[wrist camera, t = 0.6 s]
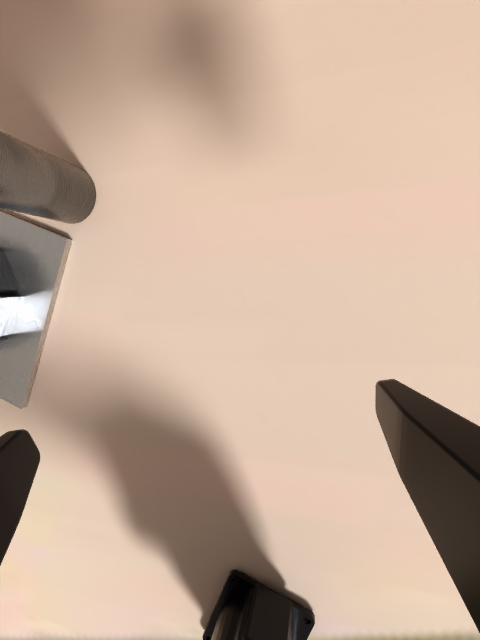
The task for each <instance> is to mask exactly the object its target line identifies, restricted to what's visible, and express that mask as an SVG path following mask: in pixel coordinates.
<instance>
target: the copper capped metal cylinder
mask: <svg viewBox="0 0 480 640" xmlns="http://www.w3.org/2000/svg"><path fill="white" fill-rule="evenodd" d="M95 201H96V190H95V185H94V183H93V181H92V179H91V177H90V176H89V175H88V173H87V172H85V171H84V170H83V169H81V168H78V167H76V166H74V165H72V164H70V163H68V162H66V161H63V160H61V159H59V158H57V157H55V156H53V155H51V154H48V153H46V152H44V151H42V150H40V149H38V148H36V147H33V146H31V145H29V144H27V143H25V142H23V141H21V140H18V139H16V138H14V137H12V136H10V135H8V134H5V133H3V132H1V131H0V208H4V209H8V210H12V211H17V212H21V213H25V214H30V215H34V216H39V217H43V218H47V219H52V220H56V221H61V222H65V223H70V224H74V223H79V222H81V221H83V220H84V219H86V218H87V217H88V216H89V215H90V213H91V212H92V210H93V208H94V205H95Z"/></svg>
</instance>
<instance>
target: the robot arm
mask: <svg viewBox="0 0 480 640" xmlns="http://www.w3.org/2000/svg"><path fill="white" fill-rule="evenodd" d="M376 414H377V417H378V420H379V423H380V425H381V428H382V431H383V433H384V436H385V439H386V441H387V444H388V447H389V449H390V452H391V455H392V457H393V460H394V463H395V465H396V468H397V470H398V473H399V475H400V477H401V479H402V481H403V483H404V485H405V487H406V489H407V491H408V493H409V495H410V497H411V499H412V501H413V503H414V505H415V507H416V509H417V511H418V513H419V515H420V517H421V519H422V521H423V523H424V525H425V527H426V529H427V531H428V532H429V534H430V536H431V538H432V540H433V542H434V544H435V546H436V548H437V550H438V552H439V554H440V556H441V558H442V560H443V562H444V564H445V566H446V568H447V570H448V572H449V574H450V576H451V578H452V580H453V582H454V584H455V585H456V587H457V589H458V591H459V593H460V595H461V597H462V599H463V601H464V603H465V605H466V607H467V609H468V611H469V613H470V615H471V617H472V619H473V621H474V623H475V625H476V627H477V629H478V631H479V633H480V426H478V425H476V424H474V423H473V422H471V421H469V420H467V419H465V418H464V417H462V416H460V415H458V414H456V413H455V412H453V411H451V410H449V409H447V408H445V407H444V406H442V405H440V404H438V403H436V402H435V401H433V400H431V399H429V398H427V397H426V396H424V395H422V394H420V393H418V392H417V391H415V390H413V389H411V388H409V387H408V386H406V385H404V384H402V383H400V382H399V381H397V380H395V379H389V380H381V381H378V382H377V383H376ZM39 462H40V452H39V450H38V448H37V446H36V445H35V443H34V441H33V439H32V437H31V436H30V434H29V432H28V431H26V430H15V431H9V432H7V433H5V434H4V435H2V436H1V437H0V565H1V563H2V561H3V558H4V556H5V554H6V552H7V549H8V547H9V545H10V542H11V540H12V538H13V535H14V533H15V531H16V528H17V526H18V524H19V521H20V519H21V516H22V513H23V510H24V507H25V504H26V501H27V498H28V495H29V492H30V489H31V486H32V483H33V480H34V477H35V474H36V471H37V468H38V465H39ZM234 578H236V579H237V580H236V579H234ZM306 618H309V619H306ZM314 624H315V616H314V614H313V612H312V611H310V610H309V609H307V608H305V607H303V606H301V605H299V604H298V603H296V602H294V601H292V600H290V599H289V598H287V597H285V596H283V595H281V594H279V593H278V592H276V591H274V590H272V589H270V588H269V587H267V586H265V585H263V584H261V583H259V582H258V581H256V580H254V579H252V578H250V577H248V576H247V575H245V574H243V573H241V572H239V571H237V570H232V571H231V572H230V573H229V576H228V578H227V580H226V583H225V585H224V587H223V590H222V592H221V594H220V596H219V599H218V601H217V603H216V606H215V608H214V610H213V613H212V615H211V617H210V619H209V622H208V624H207V626H206V629H205V631H204V634H203V640H307V638H308V636H309V634H310V632H311V630H312V628H313V626H314Z"/></svg>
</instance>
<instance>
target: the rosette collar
mask: <svg viewBox="0 0 480 640" xmlns="http://www.w3.org/2000/svg"><path fill="white" fill-rule="evenodd" d="M71 242H72V240H71V239H69V238H66V237H64V236H61V235H59V234H57V233H54V232H52V231H49V230H47V229H44V228H42V227H40V226H37V225H35V224H32V223H30V222H27V221H25V220H22V219H20V218H18V217H15V216H13V215H10V214H8V213H5V212H3V211H0V398H2V399H3V400H5V401H7V402H9V403H11V404H13V405H15V406H17V407H19V408H21V409H22V408H25V407H27V403H28V400H29V396H30V392H31V389H32V385H33V381H34V378H35V374H36V370H37V367H38V363H39V359H40V356H41V352H42V348H43V345H44V341H45V337H46V334H47V330H48V326H49V323H50V319H51V315H52V312H53V308H54V304H55V300H56V297H57V293H58V289H59V286H60V282H61V278H62V275H63V271H64V267H65V264H66V260H67V256H68V253H69V249H70V245H71Z"/></svg>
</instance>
